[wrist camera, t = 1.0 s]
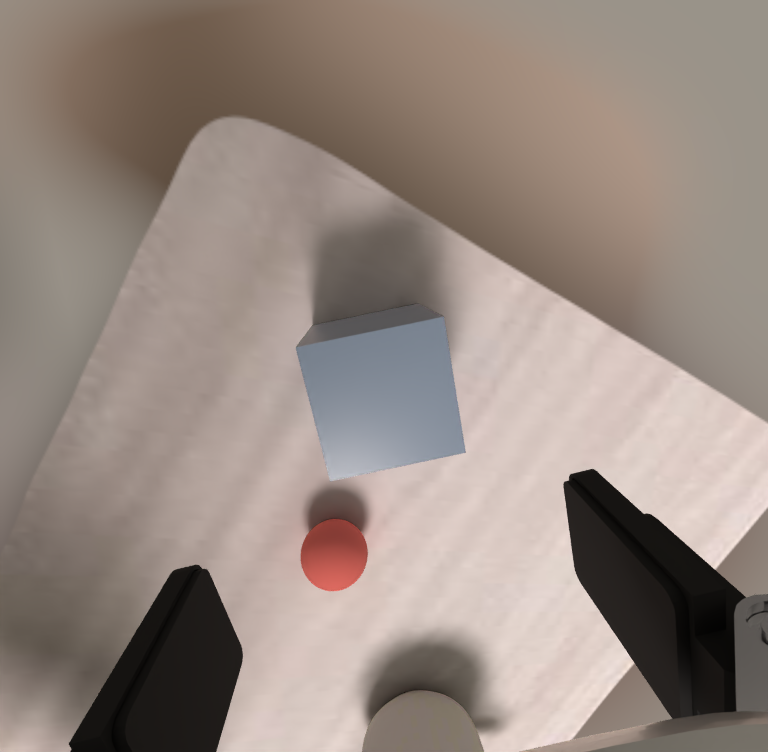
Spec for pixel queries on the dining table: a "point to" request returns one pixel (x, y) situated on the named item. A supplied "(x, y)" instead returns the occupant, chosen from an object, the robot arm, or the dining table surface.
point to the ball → (334, 555)
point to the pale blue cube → (381, 390)
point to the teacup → (422, 725)
